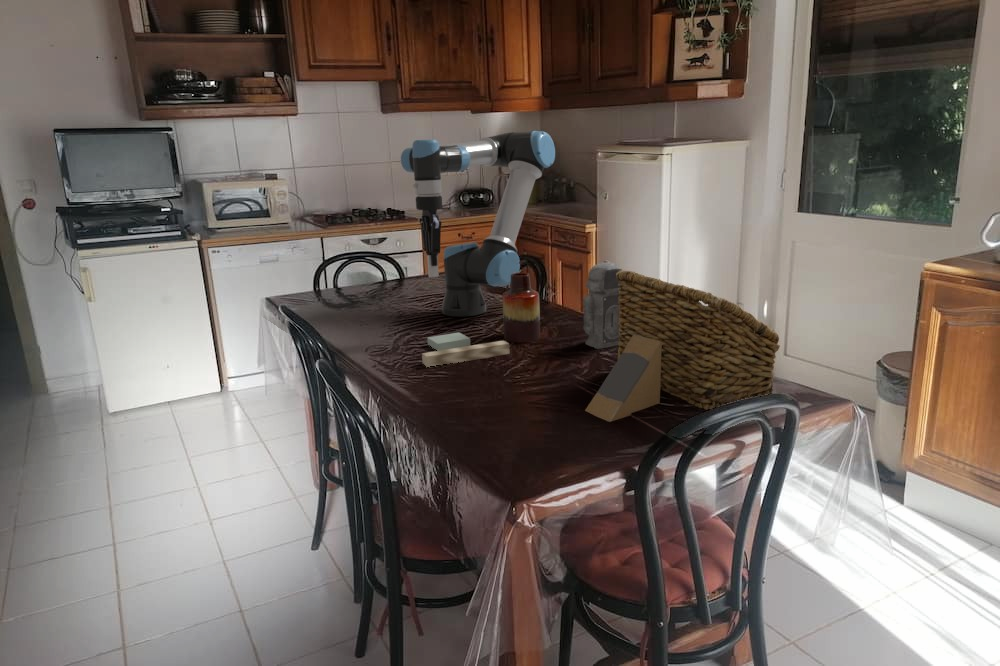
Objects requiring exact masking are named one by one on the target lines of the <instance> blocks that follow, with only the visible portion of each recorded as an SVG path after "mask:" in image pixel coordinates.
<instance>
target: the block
mask: <svg viewBox="0 0 1000 666" xmlns="http://www.w3.org/2000/svg"><path fill="white" fill-rule="evenodd" d="M426 339H427V346H428V345H430V346H431V347H432V348H431V347H430V346H429V347H430V348H431V349H433V348H434V349H436V350H437V351H440V350H446V349H453V348H459V347H465V346H472V345H471V338H470V337H469V336H466V335H465V334H463V333H461V332H453V333H452V332H451V333H447V334H441V335H435V336H429V337H426ZM434 349H433V350H434ZM436 350H435V351H436Z"/></svg>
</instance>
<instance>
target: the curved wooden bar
mask: <svg viewBox="0 0 1000 666" xmlns="http://www.w3.org/2000/svg"><path fill="white" fill-rule="evenodd" d="M510 353H511V352H510V343H509V341H508V342H507V340H498V341H492V342H485V343H478V344H473V345H471V346H465V347H459V348H453V349H446V350H440V351H436V350H434V351H428V352H422V353H421V358H422V365H423V364H424V365H425V366H426V367H425V366H424V365H423V366H424V367H425V368H427V367H429V368H431V367H430V366H435V367H437V366H436V365H441V366H444V365H443V364H447V365H451V364H450V363H453V364H457V363H458V362H459V363H463V362H464V361H465V362H469V361H475V360H481V359H487V358H493V357H500V356H503V355H504V356H505V355H510Z"/></svg>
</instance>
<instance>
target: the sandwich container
mask: <svg viewBox="0 0 1000 666" xmlns="http://www.w3.org/2000/svg"><path fill="white" fill-rule="evenodd" d="M661 349H662V343H661V342H659V341H656V340H653V339H650V338H646V337H642V336H639V335H635V334H634V335H633V336H632V338H631V339H630V341H629V343H628V344H627V346H626V348H625V349H624V351H623V353H622V354H621V356H620V358H619V359H617V361H616V362H615V364H614V365H613V367H612V368H611V370H610V372H609V373H608V375H607V376H606V378H605V379H604V380H603V382H602V384H601V386H600V387H599V389H598V391H597V392H596V393H595V394H594V397H593V398H592V399H591V400H590V402H589V403H588V405H587V407H586V408H585V410H584V411H585V412H587V413H589V414H591V415H593V416H595V417H597V418H599V419H602V420H604V421H606V422H609V423H611V422H614V421H617V420H620V419H623V418H627V417H630V416H632V415H633V413H636V412H639V411H642V410H645V409H647V408H648V409H649V408H651V407H653V406H655V405H658V404H661V389H660V382H661ZM633 416H634V415H633Z"/></svg>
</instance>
